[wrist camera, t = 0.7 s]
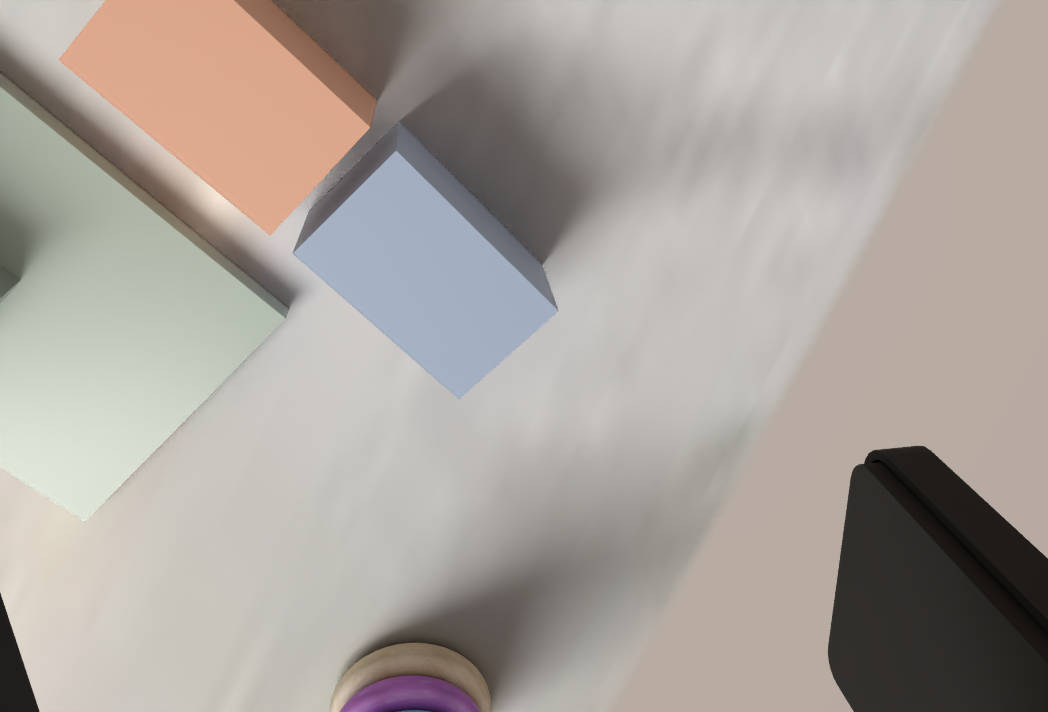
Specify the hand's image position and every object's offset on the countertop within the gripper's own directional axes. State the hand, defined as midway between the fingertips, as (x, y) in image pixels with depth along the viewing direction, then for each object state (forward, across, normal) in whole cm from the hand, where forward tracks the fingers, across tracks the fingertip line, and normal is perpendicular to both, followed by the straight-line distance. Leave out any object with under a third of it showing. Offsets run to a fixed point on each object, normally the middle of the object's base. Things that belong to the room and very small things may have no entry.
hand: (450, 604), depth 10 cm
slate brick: (+27, -1, +4) cm, 27 cm away
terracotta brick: (+27, +6, -3) cm, 28 cm away
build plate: (+28, +15, +5) cm, 32 cm away
